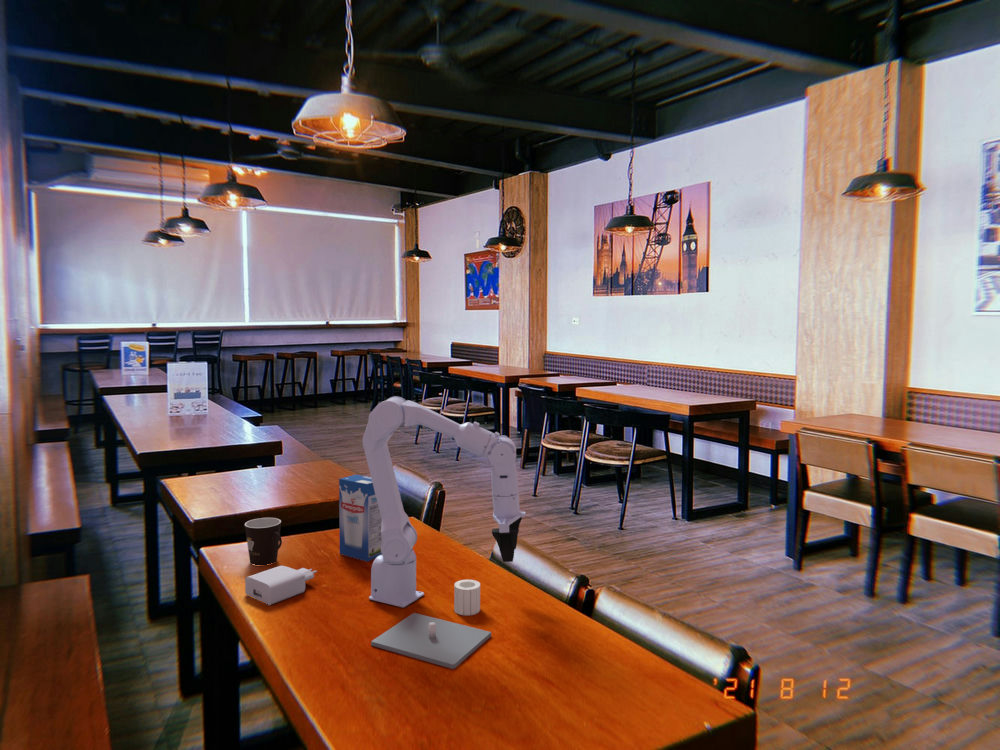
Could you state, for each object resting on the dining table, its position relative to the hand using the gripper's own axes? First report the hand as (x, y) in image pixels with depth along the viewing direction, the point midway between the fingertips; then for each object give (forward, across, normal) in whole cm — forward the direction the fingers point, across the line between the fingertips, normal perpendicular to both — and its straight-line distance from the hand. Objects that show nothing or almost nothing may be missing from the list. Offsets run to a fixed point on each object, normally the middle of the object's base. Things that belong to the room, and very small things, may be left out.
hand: (509, 555), depth 143 cm
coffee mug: (+6, +15, +64) cm, 65 cm away
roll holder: (+9, -20, +14) cm, 26 cm away
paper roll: (+10, -5, +9) cm, 14 cm away
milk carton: (+7, +24, +42) cm, 49 cm away
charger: (+7, 0, +51) cm, 52 cm away
